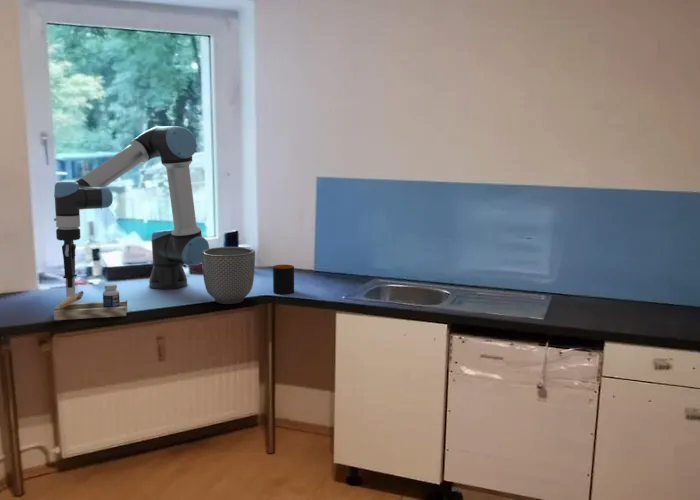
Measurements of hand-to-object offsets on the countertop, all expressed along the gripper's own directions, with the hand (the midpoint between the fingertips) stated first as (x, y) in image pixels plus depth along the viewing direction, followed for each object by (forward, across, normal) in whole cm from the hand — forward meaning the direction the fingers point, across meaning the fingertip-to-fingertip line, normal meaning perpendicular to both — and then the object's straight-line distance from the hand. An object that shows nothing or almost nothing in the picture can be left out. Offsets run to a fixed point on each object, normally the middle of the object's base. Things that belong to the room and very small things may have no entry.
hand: (70, 296), depth 236 cm
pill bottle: (+6, 0, +13) cm, 15 cm away
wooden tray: (+7, 0, +6) cm, 9 cm away
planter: (+6, -8, +54) cm, 55 cm away
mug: (+5, -20, +76) cm, 79 cm away
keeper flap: (+2, 0, +1) cm, 2 cm away
